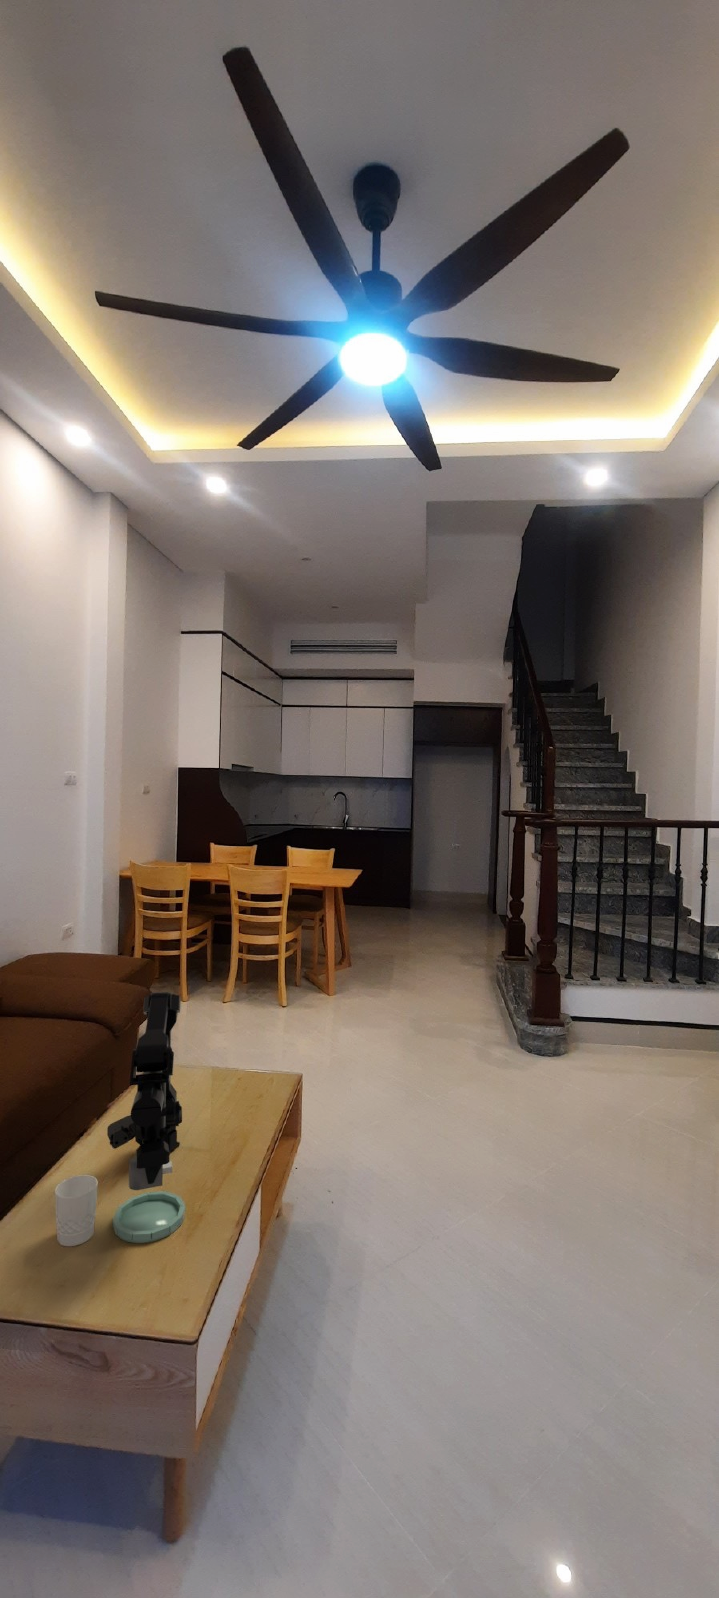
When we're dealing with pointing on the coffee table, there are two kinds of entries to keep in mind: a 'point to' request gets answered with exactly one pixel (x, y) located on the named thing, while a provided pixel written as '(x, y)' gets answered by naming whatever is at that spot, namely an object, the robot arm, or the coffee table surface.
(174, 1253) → the coffee table surface
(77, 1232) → the white cup
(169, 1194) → the dish
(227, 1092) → the coffee table surface
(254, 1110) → the coffee table surface
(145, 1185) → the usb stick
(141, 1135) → the robot arm
